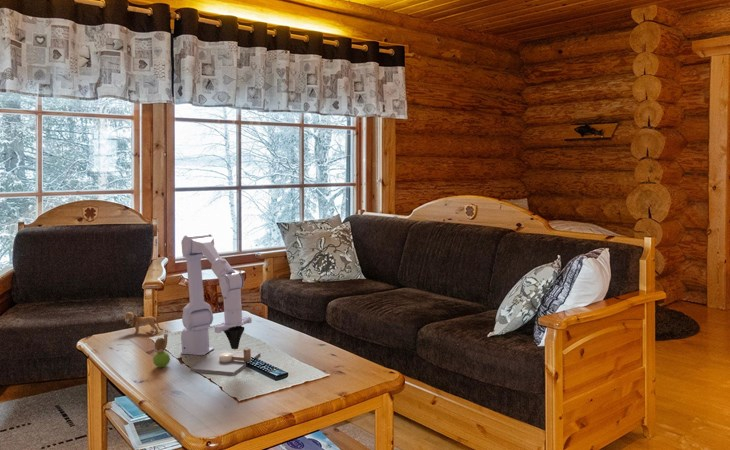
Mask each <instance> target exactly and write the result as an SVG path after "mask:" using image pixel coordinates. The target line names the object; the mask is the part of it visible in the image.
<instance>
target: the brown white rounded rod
mask: <svg viewBox="0 0 730 450" xmlns="http://www.w3.org/2000/svg"><path fill="white" fill-rule="evenodd" d="M242 351H243V352H244V356H238V355H234V354H233V353H222V354H220V355H219V361H220V362H230V361H233V360H238V361H244V362H250V361H251V352H252V351H251V348H249V347H248V348H246V347H245V348H244V349H243V350H242Z"/></svg>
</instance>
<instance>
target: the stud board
mask: <svg viewBox="0 0 730 450" xmlns="http://www.w3.org/2000/svg"><path fill="white" fill-rule="evenodd" d="M222 353H233V354H234V355H238V356H244V351H243V350H241V351H240V350H230V349H229V350H228V349H219V350H218V351H216V352H214V353H213V354H211V355H210V356H208V357H206V358H204V359H203V360H201V361H200V362H198V363H196V364H195V365H193V366H192V367H190V372H194V373H195V372H196V373H203V374H204V373H206V374H217V375H224V376H225V375H228V376H235V375H236V374H237V373H239V372H240V371H242V370H243V369H244V368H245V367H247V366H246V362H244V361H238V360H233V361H230V362H220V361H219V355H220V354H222ZM260 356H261V352H252V351H251V357H253V358H256V359H258V358H259V357H260Z"/></svg>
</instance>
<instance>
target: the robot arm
mask: <svg viewBox="0 0 730 450" xmlns="http://www.w3.org/2000/svg"><path fill="white" fill-rule="evenodd" d="M181 253H182V257H183V258H185V259H186V260H185V261H186V270H187V283H188V294H189V295H188V296H189V303H187V304H186V305H185V306H184V307H183V308H182V317H181V318H182V320H181V322H182V325H183V327H184V328H182V331H181V334H180V342H181V343H180V344H181V352H180V354H181V355H182V354H184V355H194V356H205V355H206V354H208V353H210V352H211V351H213V350H214V349H215V347H212V346H210V335H209V334H210V333H209V329H210V328H211V325H212V323H213V322H214V315H213V312H212V307H211V305H210V304H209V303H208V302H206V301H205V297H204V284H203V272H202V271H203V270H202V258H203V257H205V258H206V259H207V261H208V262H209V263H210V264H211V266H210V268H211V271H212V272H213V274H214V275H215V276H216V277H217V279H218V282H219V283H218V284H219V287H220V288H219V289H220V291H221V295H222V297H223V313H224V321H223V322H221V323H220V324H217V325H215V326H214V333H217V334H221V333H222V332H223V333H224V334H225V336H226V338H227V340H228V342H229V346H230V349H231V350H234V351H237V350H238V349H239V347H240V342H241V338H242V336H243V333H244V332H245V326H244V325H246V324H252V321H253V319H252V316H245V317H243V312H242V311H243V307H242V289H243V288H244V285H245V279H244V276H243V274H242V273H241V271H237V270H234V269H233V267H232V266H231V265H230V263H229V261H227V260H226V258H224V257H223V258H221V256H220V254H219V252H218V251H217V249H216V247H215V239H214V237H213V235H212V234H211V233H210V232H207V233H198V234H191V235H184V236H183V238H182V239H181Z"/></svg>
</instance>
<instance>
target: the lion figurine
mask: <svg viewBox="0 0 730 450" xmlns="http://www.w3.org/2000/svg"><path fill="white" fill-rule="evenodd" d="M124 321H125V323H126V324H127V325H129V326H130V327H134V328H135V332H134V334H135V335H137V334H139V331H140V327H146V326H148V325H149V326H150V328H152V329H150V330H149V331H150V332H154V334H158V333H159V330H160V331H164V329H163V328H161V327H160V325H159V323H158V320H157V319H156V318H155V317H154V316H152V315H150V316H145V317H144V316H141V315H140V314H139V313H135V312H132V311H128V312H126V313H125V314H124Z"/></svg>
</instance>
